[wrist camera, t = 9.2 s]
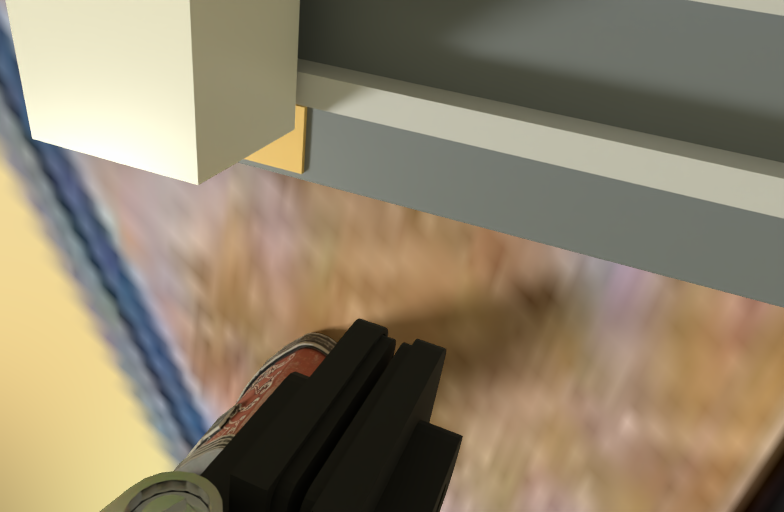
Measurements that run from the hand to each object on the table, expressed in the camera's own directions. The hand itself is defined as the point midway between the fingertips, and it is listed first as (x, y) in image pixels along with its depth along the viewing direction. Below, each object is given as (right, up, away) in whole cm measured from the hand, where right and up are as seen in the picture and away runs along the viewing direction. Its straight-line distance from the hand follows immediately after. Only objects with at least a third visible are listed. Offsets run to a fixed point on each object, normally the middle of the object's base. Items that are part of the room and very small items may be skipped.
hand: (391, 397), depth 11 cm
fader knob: (-4, +11, +8) cm, 14 cm away
